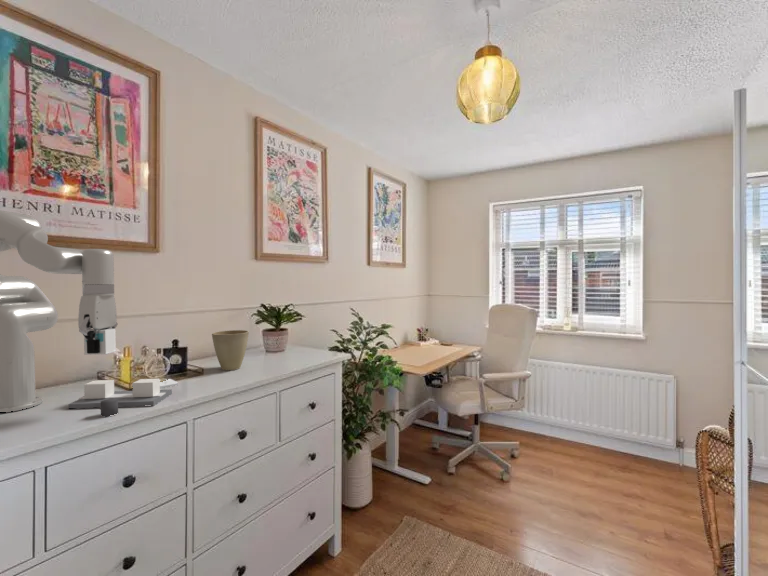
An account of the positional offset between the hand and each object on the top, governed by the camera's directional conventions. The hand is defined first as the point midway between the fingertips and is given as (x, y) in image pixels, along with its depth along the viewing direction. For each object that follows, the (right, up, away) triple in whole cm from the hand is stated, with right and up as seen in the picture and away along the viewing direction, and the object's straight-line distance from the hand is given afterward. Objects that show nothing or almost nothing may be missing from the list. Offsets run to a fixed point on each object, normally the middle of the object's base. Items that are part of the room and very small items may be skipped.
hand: (100, 350), depth 110 cm
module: (0, -1, 0) cm, 1 cm away
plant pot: (+18, -17, +50) cm, 56 cm away
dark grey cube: (+6, -18, -4) cm, 19 cm away
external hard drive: (+2, -18, +23) cm, 29 cm away
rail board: (+2, -17, +7) cm, 19 cm away
